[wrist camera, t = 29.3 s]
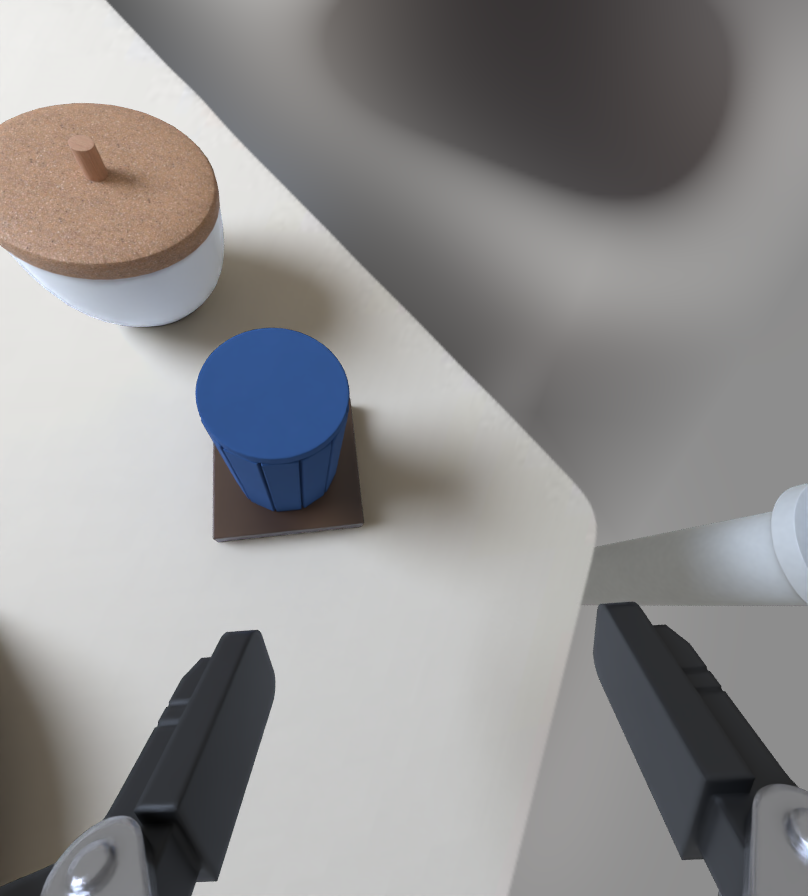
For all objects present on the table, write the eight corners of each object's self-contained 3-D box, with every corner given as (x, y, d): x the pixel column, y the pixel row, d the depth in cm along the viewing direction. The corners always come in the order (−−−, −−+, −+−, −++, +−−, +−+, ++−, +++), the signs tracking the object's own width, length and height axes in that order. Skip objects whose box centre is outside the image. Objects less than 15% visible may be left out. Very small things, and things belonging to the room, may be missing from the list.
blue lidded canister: (331, 416, 26) (342, 327, 17) (339, 505, 24) (356, 454, 16) (234, 420, 24) (196, 326, 16) (235, 516, 23) (193, 464, 14)
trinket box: (104, 204, 29) (18, 34, 20) (260, 253, 30) (241, 114, 22) (19, 328, 25) (-134, 180, 16) (204, 379, 26) (153, 267, 17)
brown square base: (348, 405, 28) (363, 330, 20) (361, 526, 25) (384, 493, 17) (217, 410, 26) (179, 329, 18) (217, 542, 23) (173, 512, 15)
